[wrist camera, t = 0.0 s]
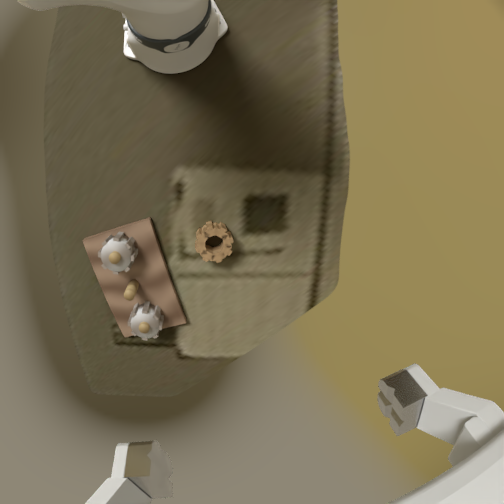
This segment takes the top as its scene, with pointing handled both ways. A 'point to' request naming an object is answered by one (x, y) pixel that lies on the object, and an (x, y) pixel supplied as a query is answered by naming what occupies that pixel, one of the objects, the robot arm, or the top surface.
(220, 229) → the oak gear
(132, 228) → the gear board
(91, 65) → the top surface
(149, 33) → the robot arm
